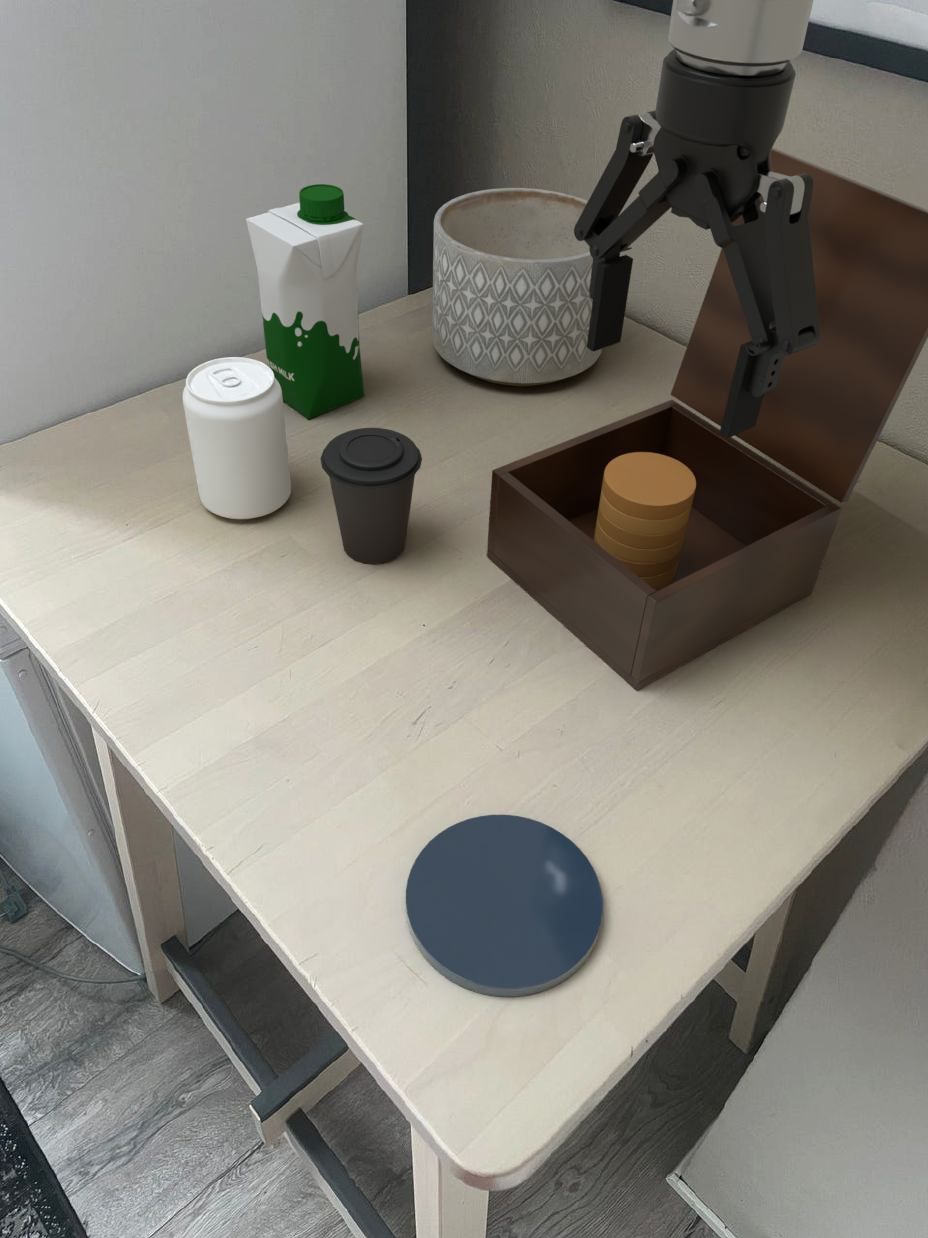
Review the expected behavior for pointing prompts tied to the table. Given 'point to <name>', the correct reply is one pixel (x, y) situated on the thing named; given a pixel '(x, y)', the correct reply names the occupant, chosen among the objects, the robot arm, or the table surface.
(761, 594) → the chest
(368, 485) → the coffee cup
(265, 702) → the table surface
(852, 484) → the lid
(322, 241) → the milk carton
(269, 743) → the table surface
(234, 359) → the beverage can
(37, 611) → the table surface
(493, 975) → the plate
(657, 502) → the cookies
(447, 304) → the planter
